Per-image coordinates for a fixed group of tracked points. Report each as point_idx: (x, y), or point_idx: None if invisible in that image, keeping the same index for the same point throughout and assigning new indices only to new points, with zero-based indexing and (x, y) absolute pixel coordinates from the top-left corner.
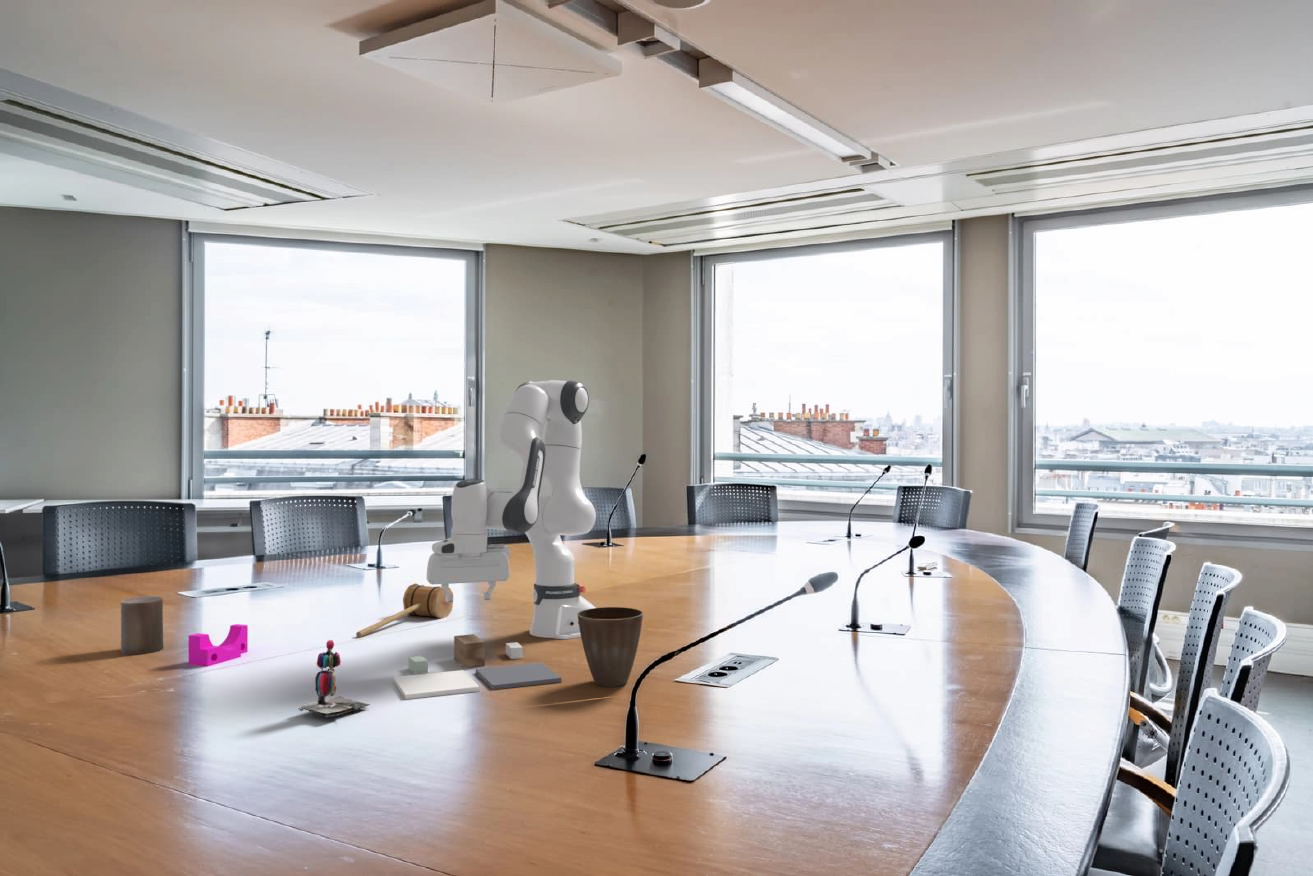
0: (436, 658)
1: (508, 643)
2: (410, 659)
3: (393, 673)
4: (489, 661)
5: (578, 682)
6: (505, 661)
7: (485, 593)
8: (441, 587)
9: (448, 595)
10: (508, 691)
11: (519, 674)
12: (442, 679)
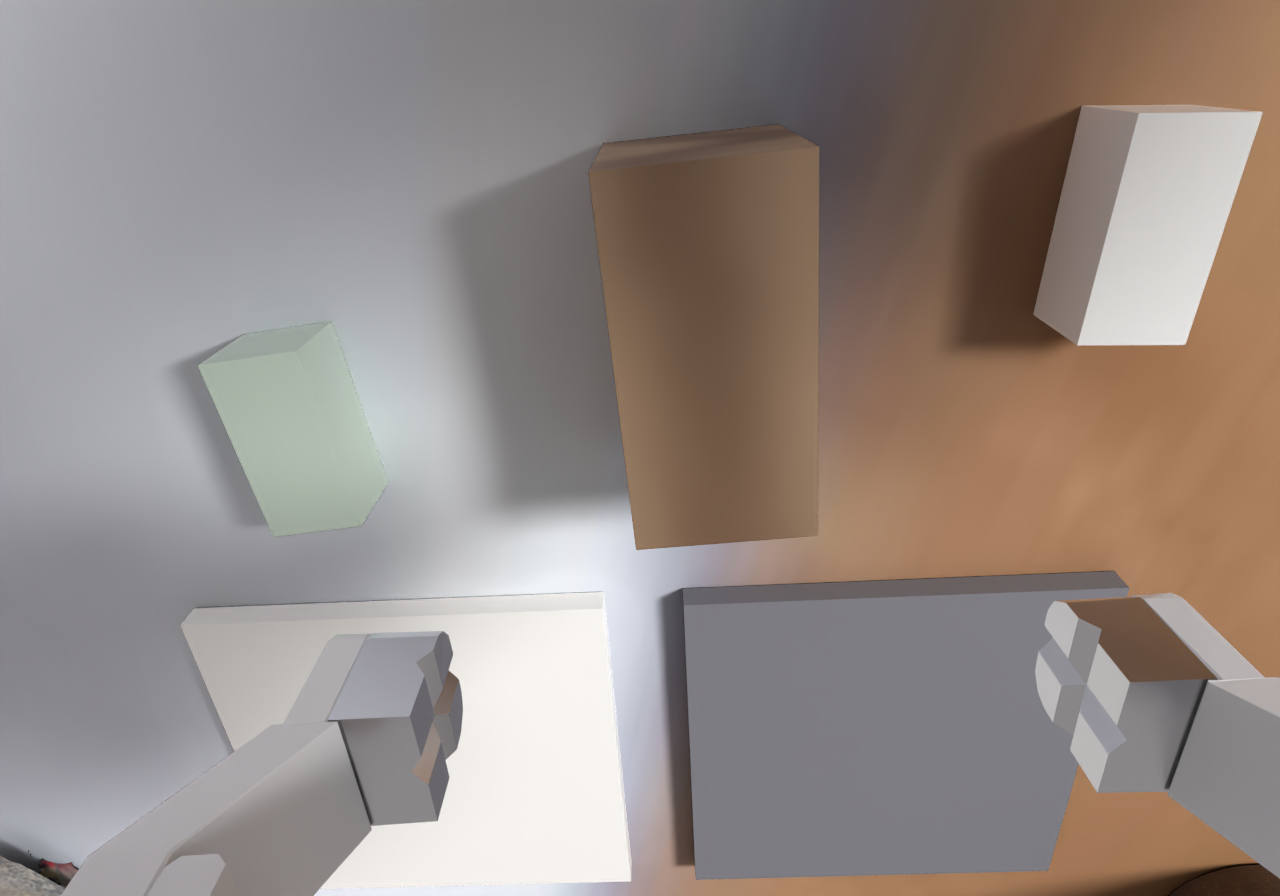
0: (452, 45)
1: (1156, 135)
2: (223, 410)
3: (154, 429)
4: (856, 322)
5: (1107, 870)
6: (967, 364)
7: (1103, 787)
8: (98, 883)
9: (349, 822)
10: (754, 890)
11: (882, 775)
12: (465, 741)
